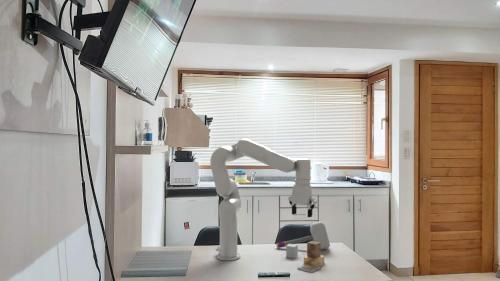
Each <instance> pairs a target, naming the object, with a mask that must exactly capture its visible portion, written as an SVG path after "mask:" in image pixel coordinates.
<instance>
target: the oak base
mask: <svg viewBox="0 0 500 281" xmlns="http://www.w3.org/2000/svg"><path fill="white" fill-rule="evenodd" d="M306 264H308V265H312V266H316V267H320V268H321V266H322V265H323V264H325V255H323V254H321V256H320V257H318V258H311V257H307V255H304V257H303V266H304V265H306Z"/></svg>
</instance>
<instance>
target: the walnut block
mask: <svg viewBox="0 0 500 281" xmlns="http://www.w3.org/2000/svg"><path fill="white" fill-rule="evenodd" d="M321 251H322V250H321V242H315V241H313V240H310V241H309V242H308V241H307V243H306V256H307V257H311V258H318V257H320V256H321V255H322V254H321V253H322V252H321Z"/></svg>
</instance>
